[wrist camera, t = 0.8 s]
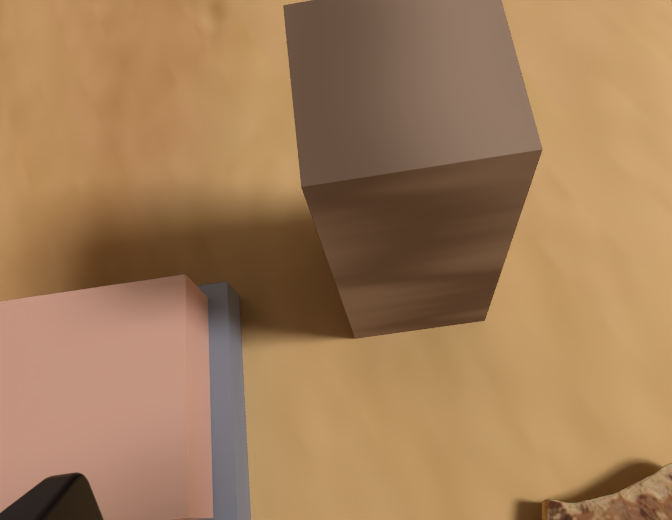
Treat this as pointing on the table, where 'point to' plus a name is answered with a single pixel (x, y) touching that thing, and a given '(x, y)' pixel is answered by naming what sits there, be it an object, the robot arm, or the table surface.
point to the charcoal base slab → (227, 405)
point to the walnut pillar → (411, 153)
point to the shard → (621, 502)
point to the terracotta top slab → (110, 397)
